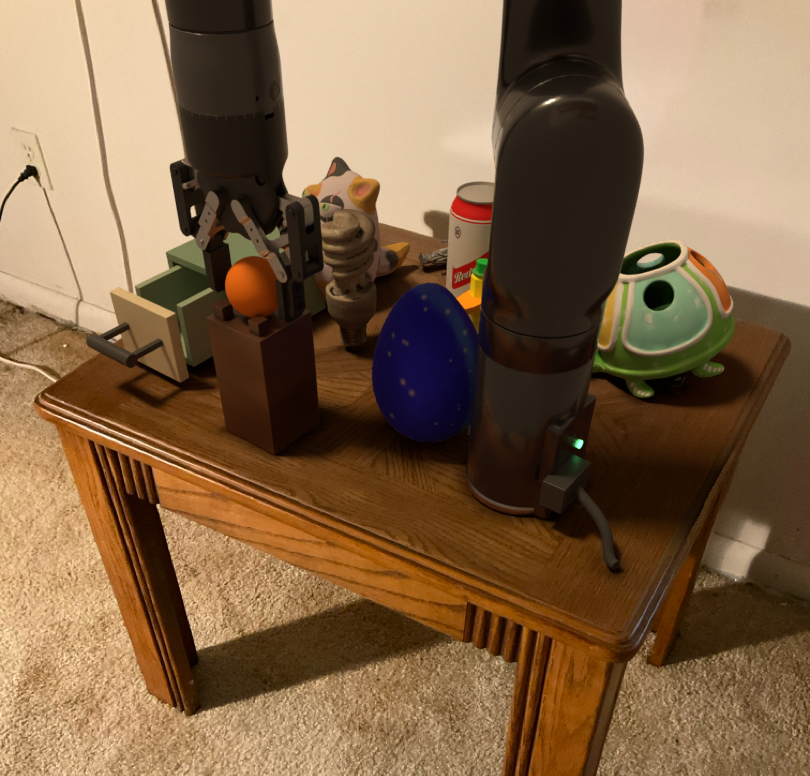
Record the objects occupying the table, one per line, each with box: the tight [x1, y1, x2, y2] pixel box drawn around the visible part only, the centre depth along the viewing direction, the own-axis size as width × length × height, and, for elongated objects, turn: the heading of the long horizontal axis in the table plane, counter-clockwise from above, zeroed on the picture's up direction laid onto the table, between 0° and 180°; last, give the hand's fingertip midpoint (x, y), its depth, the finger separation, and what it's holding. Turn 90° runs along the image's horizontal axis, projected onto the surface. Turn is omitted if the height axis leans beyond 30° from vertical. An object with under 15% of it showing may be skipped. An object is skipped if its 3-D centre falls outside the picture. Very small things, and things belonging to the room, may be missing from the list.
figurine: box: [301, 156, 411, 302], centre depth 95 cm, size 12×17×15 cm
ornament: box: [371, 282, 478, 443], centre depth 74 cm, size 11×9×15 cm
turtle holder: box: [592, 238, 736, 399], centre depth 82 cm, size 12×18×12 cm
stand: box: [206, 299, 321, 456], centre depth 74 cm, size 6×6×13 cm
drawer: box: [85, 264, 229, 383], centre depth 84 cm, size 17×8×7 cm, turn 143°
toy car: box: [649, 370, 690, 391], centre depth 86 cm, size 8×3×2 cm, turn 151°
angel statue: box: [418, 239, 448, 268], centre depth 103 cm, size 4×8×4 cm
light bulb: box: [321, 209, 378, 351], centre depth 84 cm, size 6×6×15 cm
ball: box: [225, 256, 278, 318], centre depth 69 cm, size 5×5×5 cm
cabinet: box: [165, 226, 327, 317], centre depth 90 cm, size 14×10×9 cm
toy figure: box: [456, 258, 488, 333], centre depth 82 cm, size 7×4×12 cm, turn 137°
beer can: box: [445, 180, 494, 319], centre depth 85 cm, size 6×6×16 cm
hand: (256, 302), depth 70 cm, fingers open, 7 cm apart
